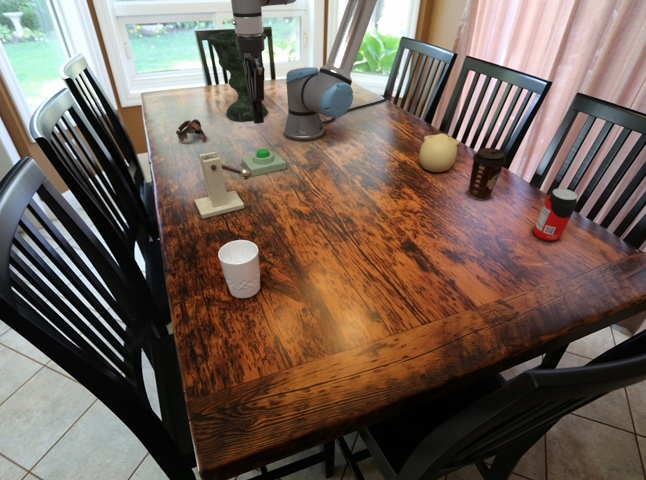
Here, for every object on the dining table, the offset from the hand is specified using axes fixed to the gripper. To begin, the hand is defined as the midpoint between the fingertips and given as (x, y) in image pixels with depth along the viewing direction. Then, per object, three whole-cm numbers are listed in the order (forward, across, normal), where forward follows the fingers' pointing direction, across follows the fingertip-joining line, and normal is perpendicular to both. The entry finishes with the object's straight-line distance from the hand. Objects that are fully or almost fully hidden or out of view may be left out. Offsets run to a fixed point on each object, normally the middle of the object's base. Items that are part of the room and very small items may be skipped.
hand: (258, 122), depth 118 cm
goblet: (+15, -52, +11) cm, 55 cm away
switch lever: (+6, +18, -16) cm, 25 cm away
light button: (+11, 0, 0) cm, 11 cm away
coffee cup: (+15, +47, +50) cm, 70 cm away
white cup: (+15, +54, -24) cm, 61 cm away
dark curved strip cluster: (+15, -34, -16) cm, 40 cm away
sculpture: (+15, +27, +50) cm, 59 cm away
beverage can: (+15, +70, +50) cm, 87 cm away
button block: (+15, 0, 0) cm, 15 cm away
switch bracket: (+15, +18, -20) cm, 30 cm away
